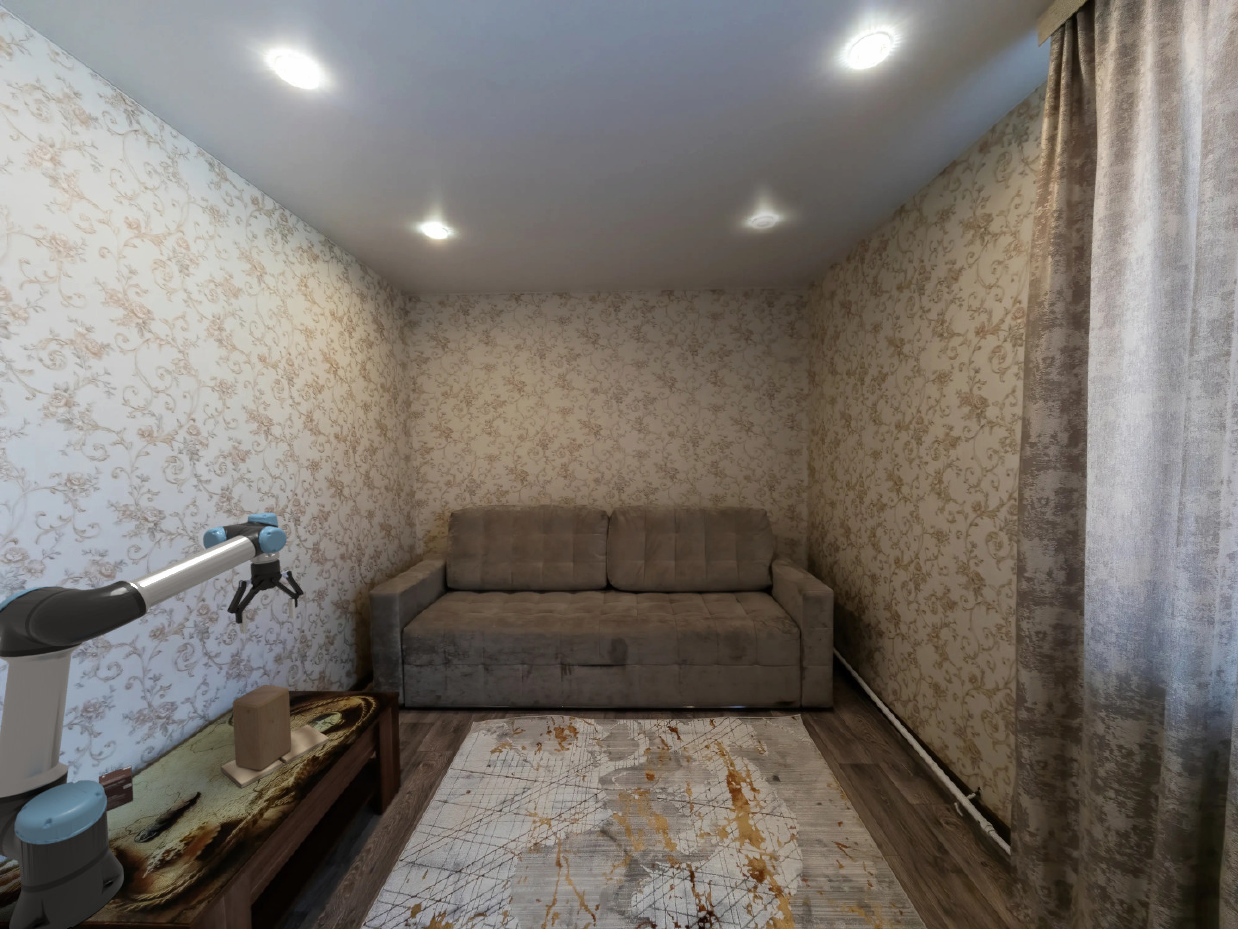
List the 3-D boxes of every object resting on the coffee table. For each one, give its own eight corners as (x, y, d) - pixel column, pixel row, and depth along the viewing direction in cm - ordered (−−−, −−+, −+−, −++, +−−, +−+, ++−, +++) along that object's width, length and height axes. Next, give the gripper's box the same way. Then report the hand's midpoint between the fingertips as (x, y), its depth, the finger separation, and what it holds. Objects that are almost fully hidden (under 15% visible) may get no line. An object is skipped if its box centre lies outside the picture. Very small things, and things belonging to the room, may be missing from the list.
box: (99, 815, 118) (97, 787, 118) (100, 802, 122) (98, 776, 122) (133, 801, 123) (131, 775, 122) (133, 789, 127) (131, 764, 127)
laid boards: (286, 764, 136) (286, 760, 136) (265, 748, 143) (265, 745, 143) (329, 741, 146) (329, 738, 146) (307, 727, 153) (307, 724, 153)
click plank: (241, 788, 127) (241, 784, 126) (221, 770, 134) (220, 766, 134) (282, 766, 135) (282, 762, 135) (261, 750, 142) (261, 747, 142)
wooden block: (260, 772, 131) (257, 705, 130) (234, 767, 133) (230, 700, 132) (293, 749, 141) (290, 686, 140) (267, 745, 143) (264, 683, 142)
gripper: (221, 572, 135) (225, 642, 136) (313, 553, 156) (316, 614, 157) (211, 568, 139) (215, 636, 140) (302, 551, 160) (305, 610, 161)
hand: (268, 625), depth 149 cm, fingers open, 13 cm apart
